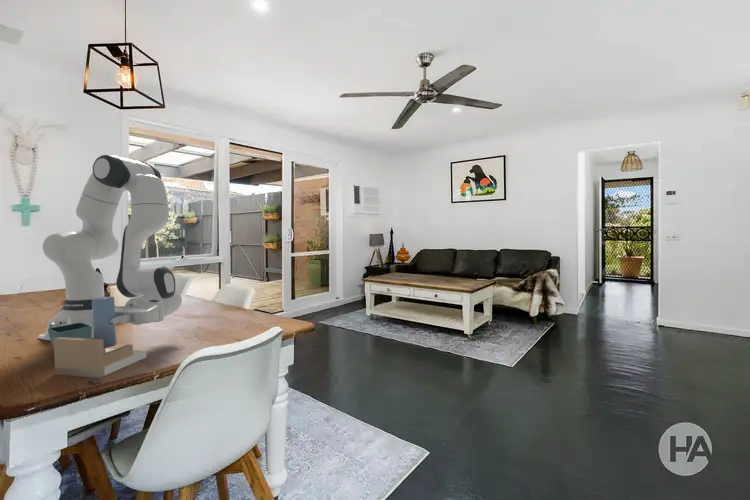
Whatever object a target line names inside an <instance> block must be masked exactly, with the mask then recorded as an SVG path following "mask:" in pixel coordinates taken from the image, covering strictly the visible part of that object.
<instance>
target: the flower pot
mask: <svg viewBox="0 0 750 500" xmlns="http://www.w3.org/2000/svg"><path fill="white" fill-rule="evenodd" d="M48 332H49V337H50V340H49V341H50V344H51V347H52V349H54V338H58V337H67V338H85V339H92V338H91V335H92V326H91V325H87V324H85V323H81V322H80V323H75V324H69V325H64V326H59V327H53V328H48Z"/></svg>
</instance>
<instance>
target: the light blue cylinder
mask: <svg viewBox="0 0 750 500" xmlns="http://www.w3.org/2000/svg"><path fill="white" fill-rule="evenodd" d="M115 306H116V304H115V297H114V296H106V297H99V298H94V299H92V312H93V329H94V338H93V339H102V340H103V347H104V348H105V349H107V348H108V349H109V348H111V347H114V346H116V345H117V344H118V343H117V341H118V340H117V327H116V325H117V324H110V321H109V319H110V318H113V317H115Z"/></svg>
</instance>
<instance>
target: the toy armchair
mask: <svg viewBox="0 0 750 500" xmlns="http://www.w3.org/2000/svg"><path fill="white" fill-rule="evenodd" d="M53 355H54V374H55V375H56V376H68V377H81V378H82V377H83V378H96V379H100V378H103V377H105V376H107V375H109V374H112V373H114V372H116V371H119V370H121V369H123V368H125V367H128V366H129V365H132V364H134V363H137V362H139V361H141V360H143V359H145V358H146V359H147V350H141V349H140V350H136V349H133V344H125V345H123V346H121V347H117V348H109V347H108V348H104V347H103V340H102V339H94V338H91V339H85V338H67V337H58V338H54V348H53Z"/></svg>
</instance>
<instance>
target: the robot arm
mask: <svg viewBox="0 0 750 500" xmlns="http://www.w3.org/2000/svg"><path fill="white" fill-rule="evenodd" d="M125 191H128V192H129V193H130V194H129V195H130V199H131V200H130V207H131V212H130V218H129V221H128V222H127V225H125V228H124V230H123V235H122V243H121V251H120V252H121V253H120V262H119V264H120V266H119V269H118V274H117V277H116V282H115V284H116V288H117V290H118V292H119V293H120V294H122V296H123V297H125V298H129V300H127V301H126V303H125V305H120V306H119V305H115V317H113V318H110V319H109V321H110V324H116V325H117V324H132V325H136V326H139V325H140V326H141V325H142V324H151V323H160V322H162V321H164V320H165V319H164V317H167V316H169V315H172V314H174V313H175V312H177V310H179V308H180V307H181V305H182V302H183V300H182V299H183V298H182V296H181V295H182V294H180V292H179V291H177V289H176V278H175V276H174V274H173V272H172V270H171V269H170V268H168V267H167V266H164V265H160V266H150V267H149V266H148V267H142V268H141V258H142V257H141V256H142V246H143V244H144V242H145V241H146V240H147V239H148V238H149V237H151V236H152V235H154V234H156V233H158V232H159V231H161V230H162V229H164V228H165V226H166V225H167V224H168V222H169V216H170V215H169V214H170V213H169V212H170V211H169V202H168V201H169V200H168V195H167V191H166V187H165V184H164V181H163V180H162V175H161V172H160V171H159V169H157V168H155V167H154V166H152V165H150V164H148V163H143V162H141V161H139V160H135V159H132V158H127V157H121V156H118V155H113V154H102V155H100V156H98V157H97V158H96V159H95V160H94V162H93V165H92V172H91V175H90V176H89V178H88V179H87V181H86V184H85V185H84V188H83V190H82V193H81V196H80V199H79V200H78V203H77V206H76V209H75V214H76V216H77V217H78V218H79V220H81V221H82V229H81V230H80V231H79V230H78V231H77V230H76V231H65V230H64V231H61V232H56V233H52V234H50V235H48V236H46V238H45V239H44V240H43V243H42V251H43V254H44V255H45V257H46V258H47V259H49V260H50V261H52V262H54V264H56V266H58V268H59V269H60V271H61V273H62V275H63V280H64V284H65V296H66V298H65V299H64V300H61V301H60V305H63V306H62V307H61V308H62V310H60V311H59V312H58V313H56V315H54V316H53V317H51V318H50V319H49V320H48V321H47V324H46V331H45V332H44V333H40V334H38V336H37V339H39V340H44V341H50V337H49V332H48V328H53V327H59V326H64V325H69V324H75V323H80V322H81V323H85V324H87V325H91V326H92V335H91V339H94V329H93V312H92V299H94V298H99V297H107V296H105V283H104V280H105V279H104V275H103V274H102V273H100V272H98V271H96V269H95V267H93V265H92V261H97V260H104V259H106V258H109V257H112V256H114V255H116V253H117V252H118V250H119V241H118V239H117V237H116V236H115V234H114V232H113V231H114V230H113V222H114V219H115V215H116V212H117V210H118V206H119V204H120V202H121V201H120V200H121V197H122V195H123V193H124V192H125Z"/></svg>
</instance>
